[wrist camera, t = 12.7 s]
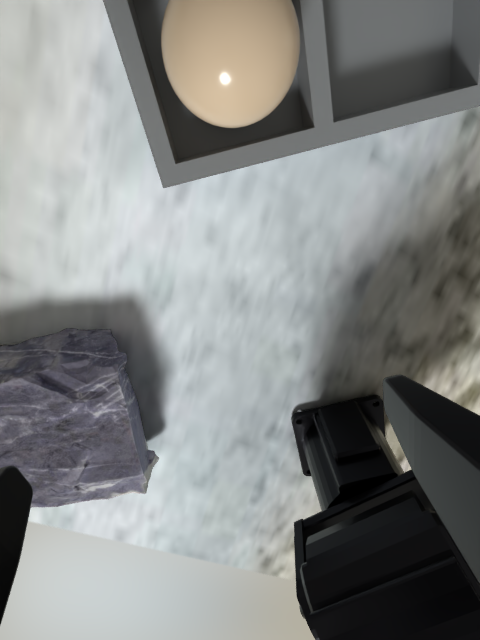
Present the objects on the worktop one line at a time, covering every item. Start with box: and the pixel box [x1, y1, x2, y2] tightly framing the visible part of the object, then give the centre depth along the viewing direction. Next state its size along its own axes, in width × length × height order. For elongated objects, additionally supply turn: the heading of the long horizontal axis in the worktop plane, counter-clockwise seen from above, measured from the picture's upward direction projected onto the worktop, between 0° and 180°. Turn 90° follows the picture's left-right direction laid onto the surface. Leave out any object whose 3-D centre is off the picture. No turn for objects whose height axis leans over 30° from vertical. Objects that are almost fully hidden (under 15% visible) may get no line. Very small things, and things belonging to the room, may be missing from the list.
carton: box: [103, 0, 480, 188], centre depth 15 cm, size 8×21×2 cm, turn 103°
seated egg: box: [161, 0, 300, 128], centre depth 13 cm, size 4×4×7 cm
